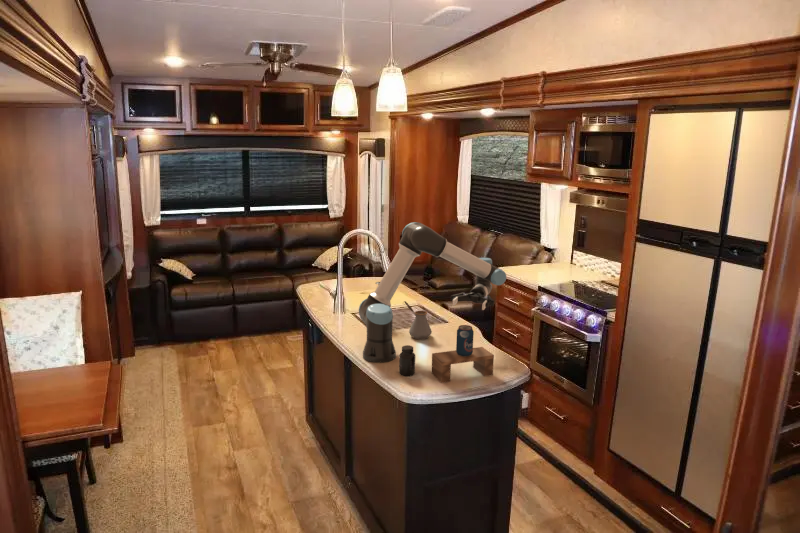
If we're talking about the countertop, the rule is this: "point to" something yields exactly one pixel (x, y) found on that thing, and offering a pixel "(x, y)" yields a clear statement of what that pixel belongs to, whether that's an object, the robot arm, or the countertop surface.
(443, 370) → the bridge shelf
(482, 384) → the countertop surface
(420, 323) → the coffee pot
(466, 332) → the soda can
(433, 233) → the robot arm
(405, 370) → the supplement bottle
